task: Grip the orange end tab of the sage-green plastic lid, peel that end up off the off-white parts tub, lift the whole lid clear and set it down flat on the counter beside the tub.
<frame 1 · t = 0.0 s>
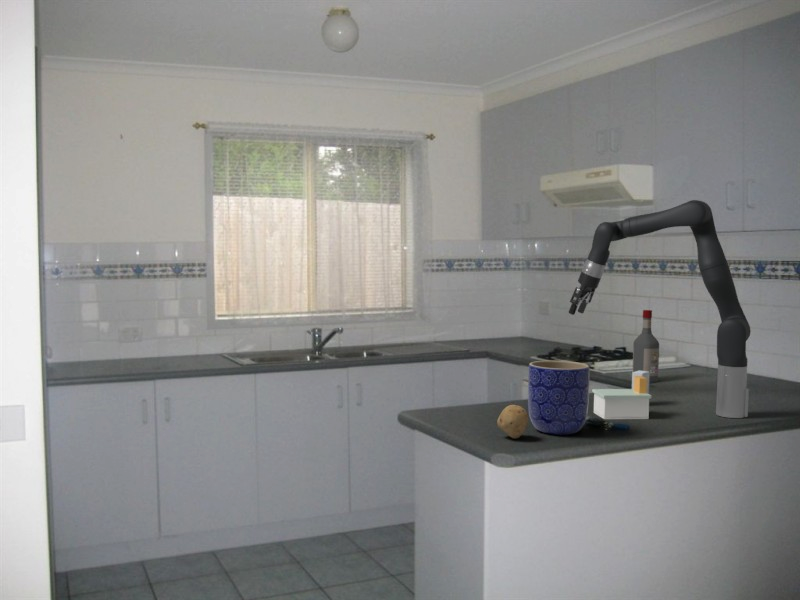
hand: (575, 313, 317), 31 cm above the counter, tool tilted 20°, fingers open, 8 cm apart
planter: (557, 431, 260), on the counter
lid: (621, 395, 284), point 7 cm above the counter, touching tub
potato: (512, 438, 250), on the counter
liquor: (645, 381, 358), on the counter
tub: (620, 415, 285), on the counter
skincare box: (639, 405, 305), on the counter
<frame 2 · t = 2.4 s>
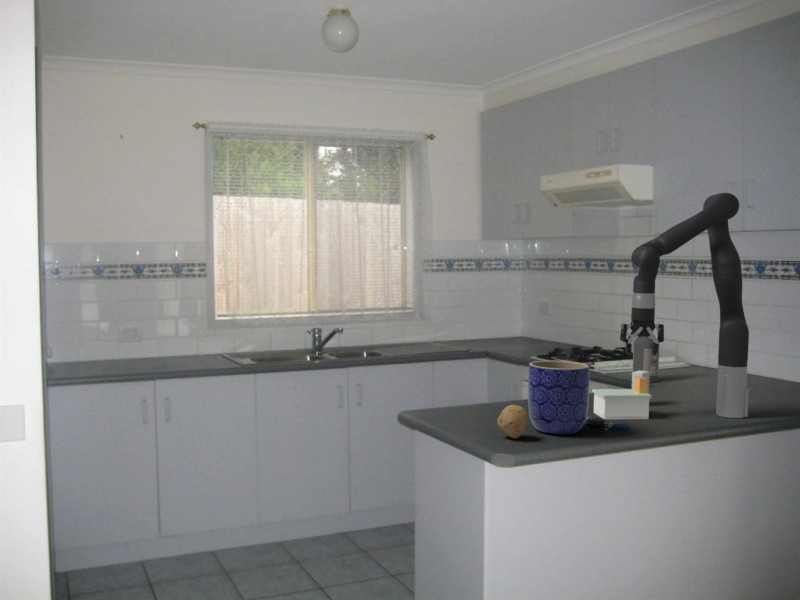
hand: (641, 354, 284), 21 cm above the counter, tool pointing down, fingers open, 8 cm apart
nothing on the counter moved.
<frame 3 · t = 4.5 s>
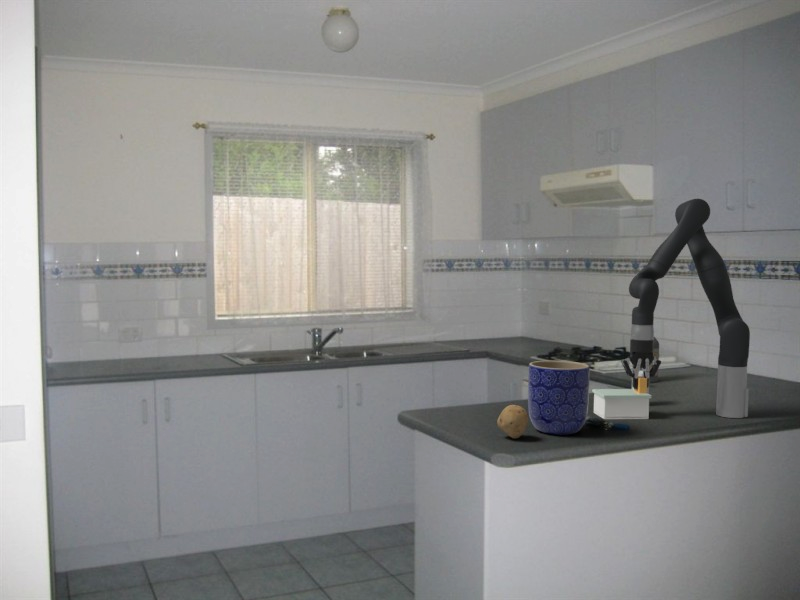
hand: (640, 388, 285), 9 cm above the counter, tool pointing down, fingers closed on lid, 2 cm apart
lid: (621, 395, 284), point 7 cm above the counter, touching gripper, tub
everything else where it was.
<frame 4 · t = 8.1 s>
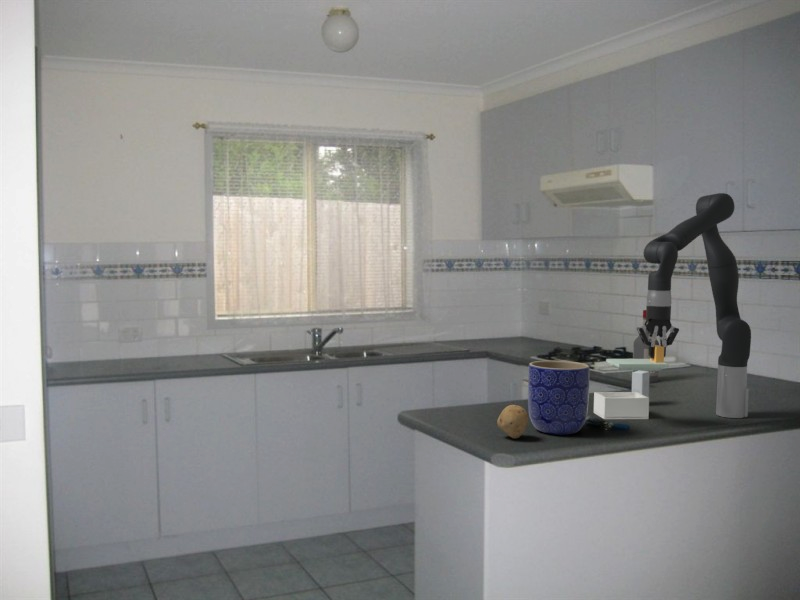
hand: (656, 358, 271), 21 cm above the counter, tool pointing down, fingers closed on lid, 2 cm apart
lid: (636, 364, 271), point 19 cm above the counter, touching gripper
everything else where it was.
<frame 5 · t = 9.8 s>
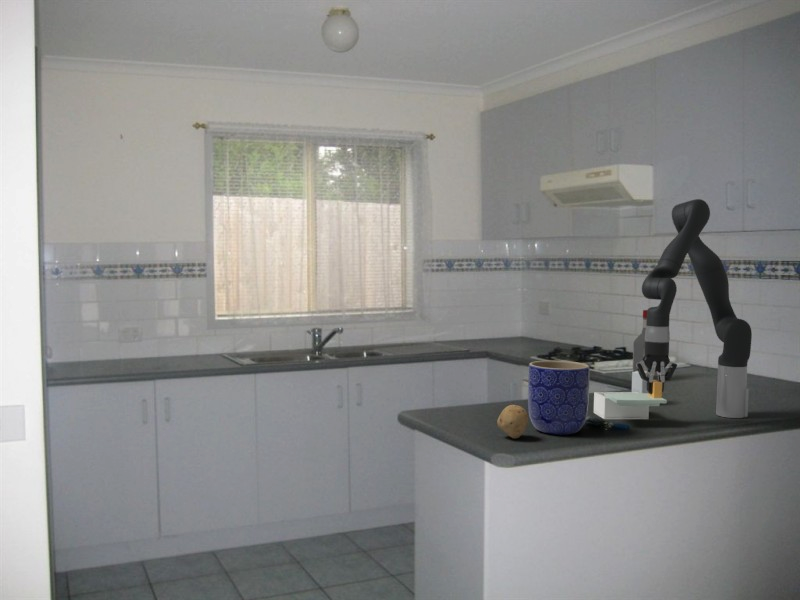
hand: (654, 393, 272), 10 cm above the counter, tool pointing down, fingers closed on lid, 2 cm apart
lid: (634, 399, 272), point 8 cm above the counter, touching gripper
everything else where it was.
when the fingers open (5 cm above the counter, at t = 11.5 s): lid drops 2 cm, point 1 cm above the counter.
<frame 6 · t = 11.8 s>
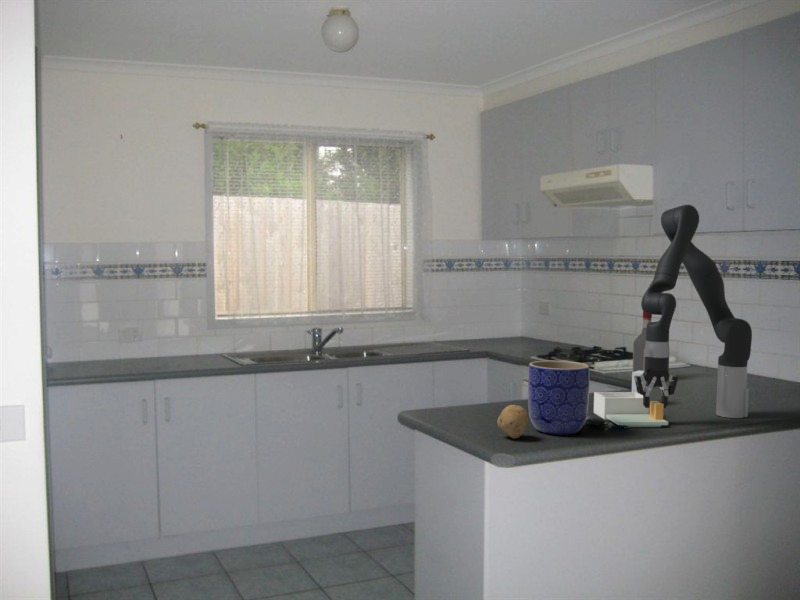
hand: (655, 407, 272), 5 cm above the counter, tool pointing down, fingers open, 5 cm apart
lid: (636, 421, 272), point 1 cm above the counter
everything else where it was.
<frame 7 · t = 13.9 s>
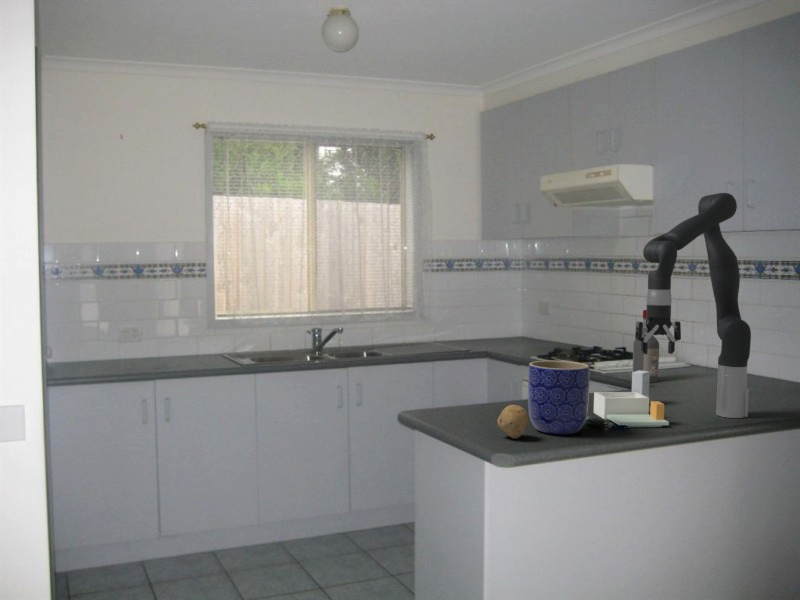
hand: (657, 353, 272), 23 cm above the counter, tool pointing down, fingers open, 8 cm apart
nothing on the counter moved.
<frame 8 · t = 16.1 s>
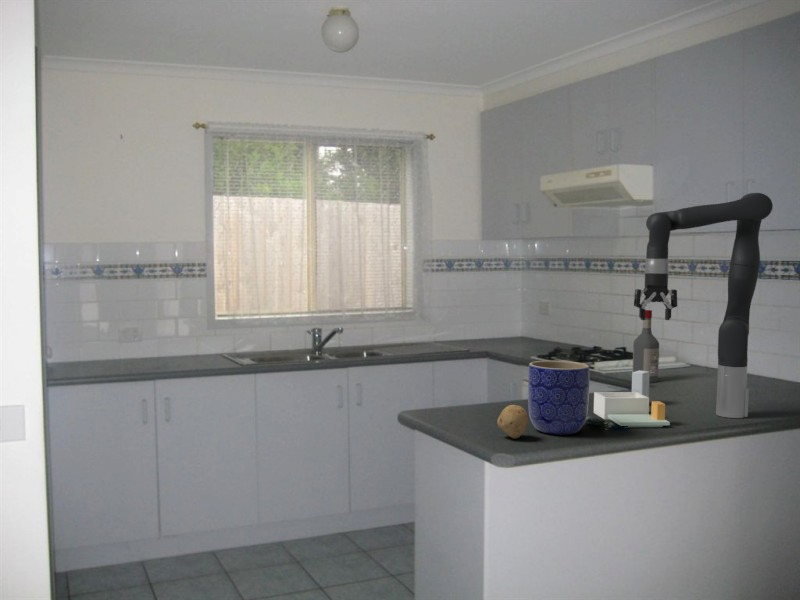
hand: (654, 319, 287), 32 cm above the counter, tool pointing down, fingers open, 8 cm apart
nothing on the counter moved.
at the end: lid touching counter; lid inside the target area (1.1 cm from its centre), point 0.9 cm above the counter; the gripper is holding nothing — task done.
